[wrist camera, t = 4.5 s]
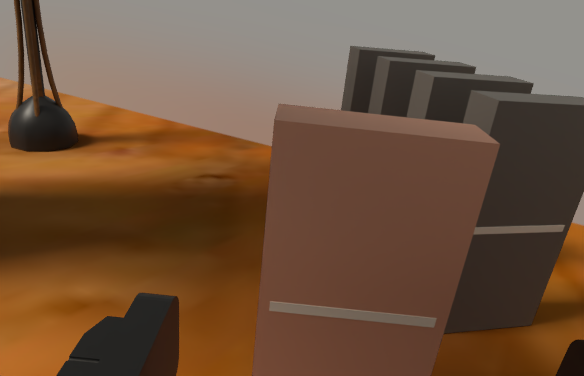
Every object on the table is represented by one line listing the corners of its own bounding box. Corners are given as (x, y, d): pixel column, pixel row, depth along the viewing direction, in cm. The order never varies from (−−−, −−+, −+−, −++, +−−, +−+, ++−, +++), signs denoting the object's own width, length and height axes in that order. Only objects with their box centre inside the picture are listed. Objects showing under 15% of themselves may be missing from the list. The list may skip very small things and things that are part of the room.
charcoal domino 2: (433, 231, 28) (476, 67, 24) (358, 233, 26) (390, 60, 23) (421, 219, 29) (459, 62, 25) (349, 220, 28) (377, 56, 24)
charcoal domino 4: (531, 325, 20) (617, 107, 16) (432, 334, 19) (499, 100, 15) (507, 302, 22) (581, 97, 18) (414, 309, 20) (471, 90, 16)
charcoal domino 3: (475, 271, 24) (533, 83, 20) (389, 275, 23) (434, 76, 19) (458, 254, 25) (509, 76, 21) (377, 258, 24) (416, 70, 20)
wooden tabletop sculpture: (-16, 140, 34) (-75, -185, 26) (35, 126, 38) (-3, -158, 30) (44, 155, 33) (1, -185, 25) (91, 139, 37) (66, -157, 29)
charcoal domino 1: (403, 201, 32) (435, 55, 28) (336, 201, 30) (359, 49, 26) (393, 191, 33) (422, 51, 29) (329, 192, 32) (350, 45, 28)
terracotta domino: (408, 452, 14) (500, 144, 10) (246, 436, 14) (274, 120, 10) (398, 407, 15) (474, 124, 11) (252, 393, 15) (278, 103, 11)
